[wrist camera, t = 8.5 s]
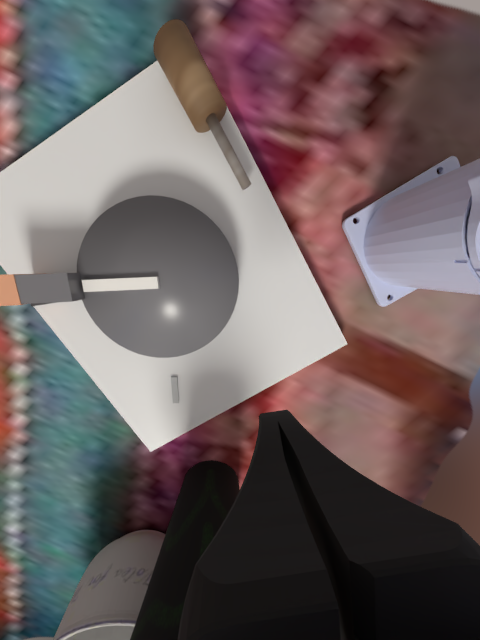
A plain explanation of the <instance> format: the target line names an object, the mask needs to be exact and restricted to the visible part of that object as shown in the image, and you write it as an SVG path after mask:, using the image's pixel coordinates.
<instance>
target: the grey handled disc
mask: <svg viewBox="0 0 480 640" xmlns="http://www.w3.org/2000/svg"><path fill="white" fill-rule="evenodd" d="M238 290H239V275H238V267H237V263H236V259H235V256H234V253H233V251H232V248H231V246H230V244H229V242H228V240H227V239H226V237H225V235H224V234H223V233H222V231H221V230H220V228H219V227H218V226H217V225H216V224H215V223H214V222H213V221H212V220H211V219H210V218H209V217H208V216H207V215H205V214H204V213H203V212H201V211H200V210H198V209H197V208H195V207H194V206H192V205H190V204H188V203H185V202H183V201H180V200H177V199H174V198H170V197H165V196H154V195H147V196H138V197H134V198H130V199H127V200H124V201H122V202H119V203H117V204H115V205H114V206H112V207H110V208H109V209H107V210H106V211H105V212H104V213H102V214H101V215H100V216H99V217H98V218H97V219H96V220H95V221H94V223H93V224H92V225H91V227H90V228H89V230H88V231H87V233H86V234H85V237H84V239H83V241H82V243H81V247H80V250H79V253H78V260H77V273H52V274H51V273H46V274H9V275H0V306H8V305H23V304H32V303H53V302H73V301H78V300H82V301H83V304H84V306H85V308H86V310H87V312H88V314H89V315H90V317H91V318H92V320H93V321H94V323H95V324H96V325H97V326H98V327H99V329H100V330H101V331H102V332H103V333H104V334H105V335H106V336H108V337H109V338H110V339H111V340H113V341H114V342H115V343H117V344H118V345H120V346H122V347H124V348H126V349H127V350H130V351H132V352H135V353H137V354H141V355H145V356H149V357H157V358H170V357H178V356H182V355H186V354H189V353H192V352H194V351H197V350H198V349H200V348H202V347H204V346H205V345H207V344H208V343H210V342H211V341H212V340H213V339H214V338H216V337H217V336H218V335H219V334H220V332H221V331H222V330H223V329H224V327H225V326H226V324H227V323H228V321H229V320H230V318H231V315H232V313H233V311H234V308H235V305H236V302H237V297H238Z"/></svg>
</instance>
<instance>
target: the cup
mask: <svg viewBox="0 0 480 640" xmlns="http://www.w3.org/2000/svg"><path fill="white" fill-rule="evenodd" d="M239 491H240V490H239V482H238V477H237V475H236V473H235V471H234V470H233V469H232V468H231V467H230V466H228V465H226V464H225V463H222V462H219V461H204V462H201V463H198V464H196V465H194V466H193V467H192V468H191V469H189V471H188V472H187V474H186V475H185V478H184V481H183V484H182V487H181V490H180V493H179V496H178V499H177V502H176V505H175V508H174V511H173V514H172V517H171V520H170V523H169V526H168V529H167V532H166V535H165V538H164V541H163V543H162V546H161V549H160V552H159V555H158V558H157V561H156V564H155V567H154V570H153V573H152V576H151V579H150V582H149V585H148V588H147V591H146V594H145V597H144V600H143V603H142V606H141V609H140V612H139V615H138V618H137V621H136V624H135V627H134V629H133V632H132V635H131V638H130V640H178V634H179V627H180V621H181V616H182V611H183V607H184V602H185V598H186V595H187V591H188V587H189V584H190V580H191V577H192V574H193V571H194V568H195V565H196V563H197V562H198V560H199V559H200V557H201V556H202V554H203V553H204V551H205V550H206V548H207V547H208V545H209V544H210V543H211V541H212V540H213V538H214V537H215V535H216V533H217V532H218V530H219V528H220V527H221V525H222V523H223V521H224V520H225V518H226V516H227V514H228V513H229V511H230V509H231V507H232V505H233V503H234V501H235V499H236V497H237V495H238V493H239Z"/></svg>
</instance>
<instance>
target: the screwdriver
mask: <svg viewBox="0 0 480 640" xmlns="http://www.w3.org/2000/svg"><path fill="white" fill-rule="evenodd" d="M154 54H155V57H156V59H157V61H158V62H159V64H160V66H161V68H162V70H163V72H164V73H165V75H166V77H167V79H168V81H169V83H170V84H171V86H172V88H173V90H174V92H175V94H176V96H177V97H178V99H179V101H180V103H181V105H182V107H183V108H184V110H185V112H186V114H187V116H188V118H189V119H190V121H191V123H192V125H193V127H194V129H195V130H196V131H197V132H199V133H204V132H207V131H209V130H211V132H212V133H213V135H214V137H215V139H216V141H217V143H218V145H219V147H220V148H221V150H222V152H223V154H224V156H225V158H226V160H227V162H228V164H229V165H230V167H231V169H232V171H233V173H234V175H235V177H236V179H237V180H238V182H239V184H240V186H241V188H242V190H244V189H246V188H248V187H249V186H250V185H251V182H250V180H249V178H248V176H247V174H246V172H245V170H244V168H243V167H242V165H241V163H240V161H239V159H238V157H237V155H236V153H235V151H234V149H233V147H232V145H231V144H230V142H229V140H228V138H227V136H226V134H225V132H224V130H223V128H222V126H221V124H220V121H221V120H222V119H223V117H224V115H225V113H226V110H227V105H226V103H225V101H224V99H223V97H222V95H221V93H220V91H219V89H218V87H217V85H216V83H215V81H214V79H213V77H212V75H211V73H210V71H209V69H208V67H207V65H206V63H205V61H204V59H203V57H202V55H201V53H200V51H199V50H198V48H197V46H196V44H195V42H194V40H193V38H192V36H191V34H190V32H189V30H188V28H187V26H186V24H185V23H184V22H183V21H181V20H178V19H174V20H170V21H168V22H167V23H165V24H164V25H163V26H162V27H161V28H160V30H159V31H158V33H157V35H156V37H155V41H154Z"/></svg>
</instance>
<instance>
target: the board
mask: <svg viewBox="0 0 480 640" xmlns="http://www.w3.org/2000/svg"><path fill="white" fill-rule="evenodd" d="M220 124H221V126H222V128H223V130H224V132H225V134H226V136H227V138H228V140H229V142H230V144H231V145H232V147H233V149H234V151H235V153H236V155H237V157H238V159H239V161H240V163H241V165H242V167H243V168H244V170H245V172H246V174H247V176H248V178H249V180H250V182H251V185H250V186H249V187H248V188H246V189H244V190H242V188H241V186H240V184H239V182H238V180H237V179H236V177H235V175H234V173H233V171H232V169H231V167H230V165H229V164H228V162H227V160H226V158H225V156H224V154H223V152H222V150H221V148H220V147H219V145H218V143H217V141H216V139H215V137H214V135H213V133H212V132H211V130H209V131H207V132H204V133H199V132H197V131H196V130H195V129H194V127H193V125H192V123H191V121H190V119H189V118H188V116H187V114H186V112H185V110H184V108H183V107H182V105H181V103H180V101H179V99H178V97H177V96H176V94H175V92H174V90H173V88H172V86H171V84H170V83H169V81H168V79H167V77H166V75H165V73H164V72H163V70H162V68H161V66H160V64H159V62H158V61H156V62H154V63H153V64H152V65H150V66H149V67H147V68H146V69H145V70H143V71H142V72H140V73H139V74H138V75H136V76H135V77H133V78H132V79H131V80H129V81H128V82H126V83H125V84H124V85H122V86H121V87H119V88H118V89H117V90H115V91H114V92H112V93H111V94H109V95H108V96H107V97H105V98H104V99H102V100H101V101H100V102H98V103H97V104H95V105H94V106H93V107H91V108H90V109H88V110H87V111H86V112H84V113H83V114H81V115H80V116H79V117H77V118H76V119H74V120H73V121H72V122H70V123H69V124H67V125H66V126H65V127H63V128H62V129H60V130H59V131H58V132H56V133H55V134H53V135H52V136H50V137H49V138H48V139H46V140H45V141H43V142H42V143H41V144H39V145H38V146H36V147H35V148H34V149H32V150H31V151H29V152H28V153H27V154H25V155H24V156H22V157H21V158H20V159H18V160H17V161H15V162H14V163H13V164H11V165H10V166H8V167H7V168H6V169H4V170H3V171H1V172H0V265H1V266H2V268H3V269H4V270H5V271H6V273H7V274H8V275H9V274H46V273H51V274H52V273H77V260H78V253H79V250H80V247H81V243H82V241H83V239H84V237H85V234H86V233H87V231H88V230H89V228H90V227H91V225H92V224H93V223H94V221H95V220H96V219H97V218H98V217H99V216H100V215H101V214H102V213H104V212H105V211H106V210H107V209H109V208H110V207H112V206H114V205H115V204H117V203H119V202H122V201H124V200H127V199H130V198H134V197H138V196H147V195H154V196H165V197H170V198H174V199H177V200H180V201H183V202H185V203H188V204H190V205H192V206H194V207H195V208H197V209H198V210H200V211H201V212H203V213H204V214H205V215H207V216H208V217H209V218H210V219H211V220H212V221H213V222H214V223H215V224H216V225H217V226H218V227H219V228H220V230H221V231H222V233H223V234H224V235H225V237H226V239H227V240H228V242H229V244H230V246H231V248H232V251H233V253H234V256H235V259H236V263H237V267H238V275H239V290H238V297H237V302H236V305H235V308H234V311H233V313H232V315H231V318H230V320H229V321H228V323H227V324H226V326H225V327H224V329H223V330H222V331H221V332H220V334H219V335H218V336H217V337H216V338H214V339H213V340H212V341H211V342H210V343H208V344H207V345H205V346H204V347H202V348H200V349H198V350H197V351H194V352H192V353H189V354H186V355H182V356H178V357H170V358H157V357H149V356H145V355H141V354H137V353H135V352H132V351H130V350H127V349H126V348H124V347H122V346H120V345H118V344H117V343H115V342H114V341H113V340H111V339H110V338H109V337H108V336H106V335H105V334H104V333H103V332H102V331H101V330H100V329H99V327H98V326H97V325H96V324H95V323H94V321H93V320H92V318H91V317H90V315H89V314H88V312H87V310H86V308H85V306H84V304H83V301H82V300H78V301H73V302H53V303H32V304H31V306H34V307H35V309H36V310H37V311H38V312H39V314H40V315H41V316H42V317H43V319H44V320H45V321H46V322H47V324H48V325H49V326H50V327H51V329H52V330H53V331H54V332H55V334H56V335H57V336H58V337H59V339H60V340H61V341H62V342H63V344H64V345H65V346H66V347H67V349H68V350H69V351H70V352H71V354H72V355H73V356H74V357H75V358H76V360H77V361H78V362H79V363H80V365H81V366H82V367H83V368H84V370H85V371H86V372H87V373H88V375H89V376H90V377H91V378H92V380H93V381H94V382H95V383H96V385H97V386H98V387H99V388H100V390H101V391H102V392H103V393H104V395H105V396H106V397H107V398H108V400H109V401H110V402H111V403H112V405H113V406H114V407H115V408H116V410H117V411H118V412H119V413H120V414H121V416H122V417H123V418H124V419H125V421H126V422H127V423H128V424H129V426H130V427H131V428H132V429H133V431H134V432H135V433H136V434H137V436H138V437H139V438H140V439H141V441H142V442H143V443H144V444H145V446H146V447H147V448H148V449H149V451H150V452H151V451H153V450H155V449H157V448H159V447H160V446H162V445H164V444H166V443H168V442H170V441H171V440H173V439H175V438H177V437H179V436H181V435H182V434H184V433H186V432H188V431H190V430H191V429H193V428H195V427H197V426H199V425H201V424H202V423H204V422H206V421H208V420H210V419H212V418H213V417H215V416H217V415H219V414H221V413H222V412H224V411H226V410H228V409H230V408H232V407H233V406H235V405H237V404H239V403H241V402H243V401H244V400H246V399H248V398H250V397H252V396H253V395H255V394H257V393H259V392H261V391H263V390H264V389H266V388H268V387H270V386H272V385H274V384H275V383H277V382H279V381H281V380H283V379H285V378H286V377H288V376H290V375H292V374H294V373H295V372H297V371H299V370H301V369H303V368H305V367H306V366H308V365H310V364H312V363H314V362H316V361H317V360H319V359H321V358H323V357H325V356H326V355H328V354H330V353H332V352H334V351H336V350H337V349H339V348H341V347H343V346H345V345H347V342H346V340H345V338H344V336H343V334H342V332H341V330H340V328H339V326H338V324H337V322H336V320H335V318H334V316H333V314H332V312H331V310H330V308H329V306H328V305H327V303H326V301H325V299H324V297H323V295H322V293H321V291H320V289H319V287H318V285H317V283H316V281H315V279H314V277H313V275H312V273H311V271H310V269H309V267H308V265H307V263H306V261H305V259H304V257H303V255H302V253H301V251H300V249H299V247H298V245H297V243H296V241H295V240H294V238H293V236H292V234H291V232H290V230H289V228H288V226H287V224H286V222H285V220H284V218H283V216H282V214H281V212H280V210H279V208H278V206H277V204H276V202H275V200H274V198H273V196H272V194H271V192H270V190H269V188H268V186H267V184H266V182H265V180H264V178H263V176H262V175H261V173H260V171H259V169H258V167H257V165H256V163H255V161H254V159H253V157H252V155H251V153H250V151H249V149H248V147H247V145H246V143H245V141H244V139H243V137H242V135H241V133H240V131H239V129H238V127H237V125H236V123H235V121H234V119H233V117H232V115H231V113H230V111H229V110H228V108H227V110H226V113H225V115H224V117H223V119H222V120H221V121H220Z"/></svg>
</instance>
